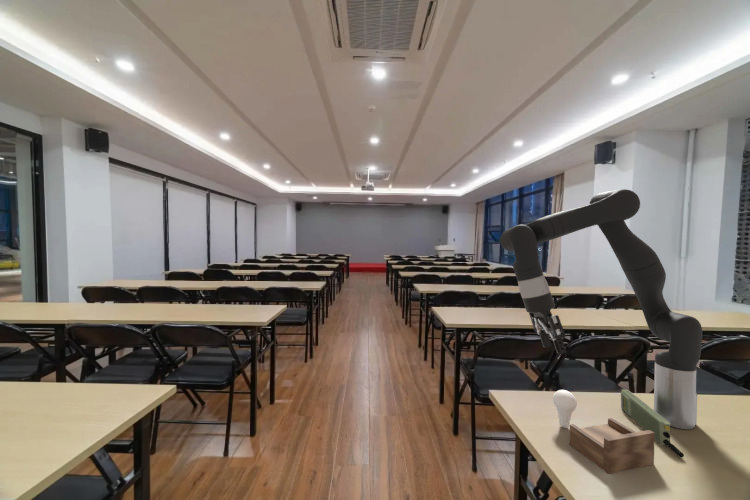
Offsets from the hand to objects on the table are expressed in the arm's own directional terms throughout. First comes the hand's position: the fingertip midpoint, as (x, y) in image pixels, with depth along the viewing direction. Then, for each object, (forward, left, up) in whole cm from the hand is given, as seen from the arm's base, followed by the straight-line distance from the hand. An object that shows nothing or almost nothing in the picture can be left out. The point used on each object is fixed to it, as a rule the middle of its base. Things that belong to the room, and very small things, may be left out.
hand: (554, 350), depth 89 cm
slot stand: (-9, +8, -25) cm, 28 cm away
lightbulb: (-7, -4, -25) cm, 26 cm away
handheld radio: (-30, +3, -25) cm, 39 cm away
